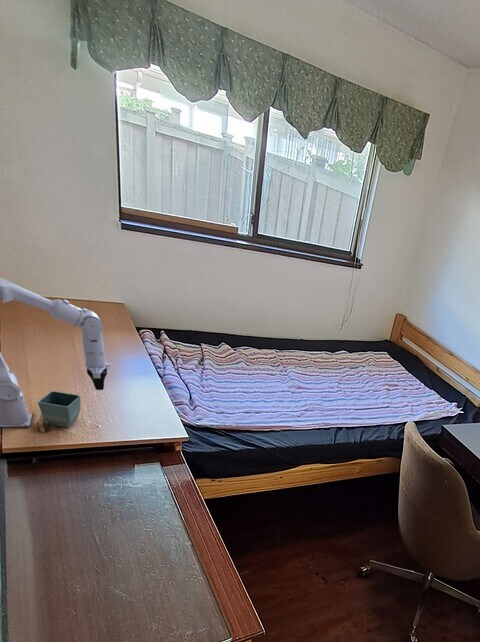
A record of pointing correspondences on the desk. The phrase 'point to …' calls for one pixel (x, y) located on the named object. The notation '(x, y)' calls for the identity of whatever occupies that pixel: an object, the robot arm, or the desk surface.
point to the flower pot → (60, 408)
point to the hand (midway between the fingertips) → (99, 389)
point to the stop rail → (42, 423)
